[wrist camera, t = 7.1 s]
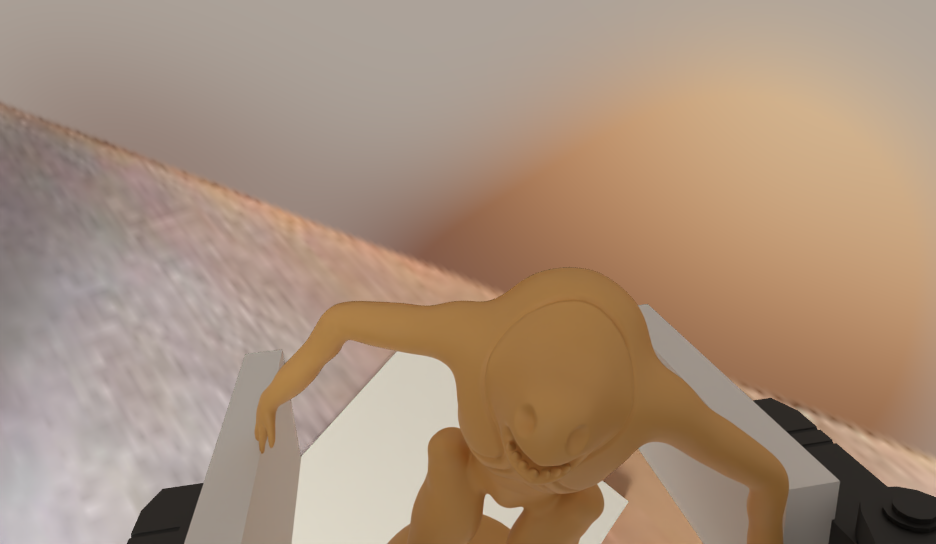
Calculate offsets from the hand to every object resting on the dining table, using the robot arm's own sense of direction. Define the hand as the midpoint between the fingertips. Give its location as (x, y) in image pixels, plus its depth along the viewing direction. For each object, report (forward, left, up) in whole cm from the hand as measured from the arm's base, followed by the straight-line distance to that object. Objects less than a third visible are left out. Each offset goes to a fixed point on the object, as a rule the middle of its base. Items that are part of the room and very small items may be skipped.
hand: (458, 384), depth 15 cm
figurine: (+3, -2, -4) cm, 5 cm away
